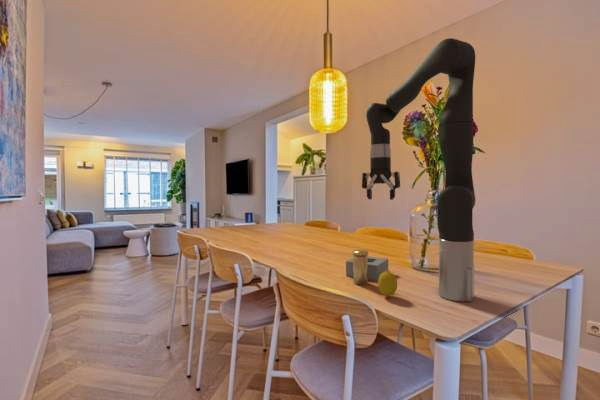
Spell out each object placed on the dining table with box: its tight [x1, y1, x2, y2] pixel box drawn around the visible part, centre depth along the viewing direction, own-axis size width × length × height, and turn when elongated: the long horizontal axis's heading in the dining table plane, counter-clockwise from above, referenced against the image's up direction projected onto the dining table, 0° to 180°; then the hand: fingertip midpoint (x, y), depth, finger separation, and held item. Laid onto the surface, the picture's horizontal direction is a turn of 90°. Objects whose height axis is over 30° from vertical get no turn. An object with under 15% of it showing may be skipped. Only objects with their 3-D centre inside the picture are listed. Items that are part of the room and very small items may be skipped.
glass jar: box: [351, 249, 369, 286], centre depth 107 cm, size 5×5×11 cm
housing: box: [345, 255, 389, 282], centre depth 117 cm, size 12×12×6 cm
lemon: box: [377, 270, 398, 298], centre depth 93 cm, size 6×6×8 cm
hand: (380, 199), depth 119 cm, fingers open, 8 cm apart
